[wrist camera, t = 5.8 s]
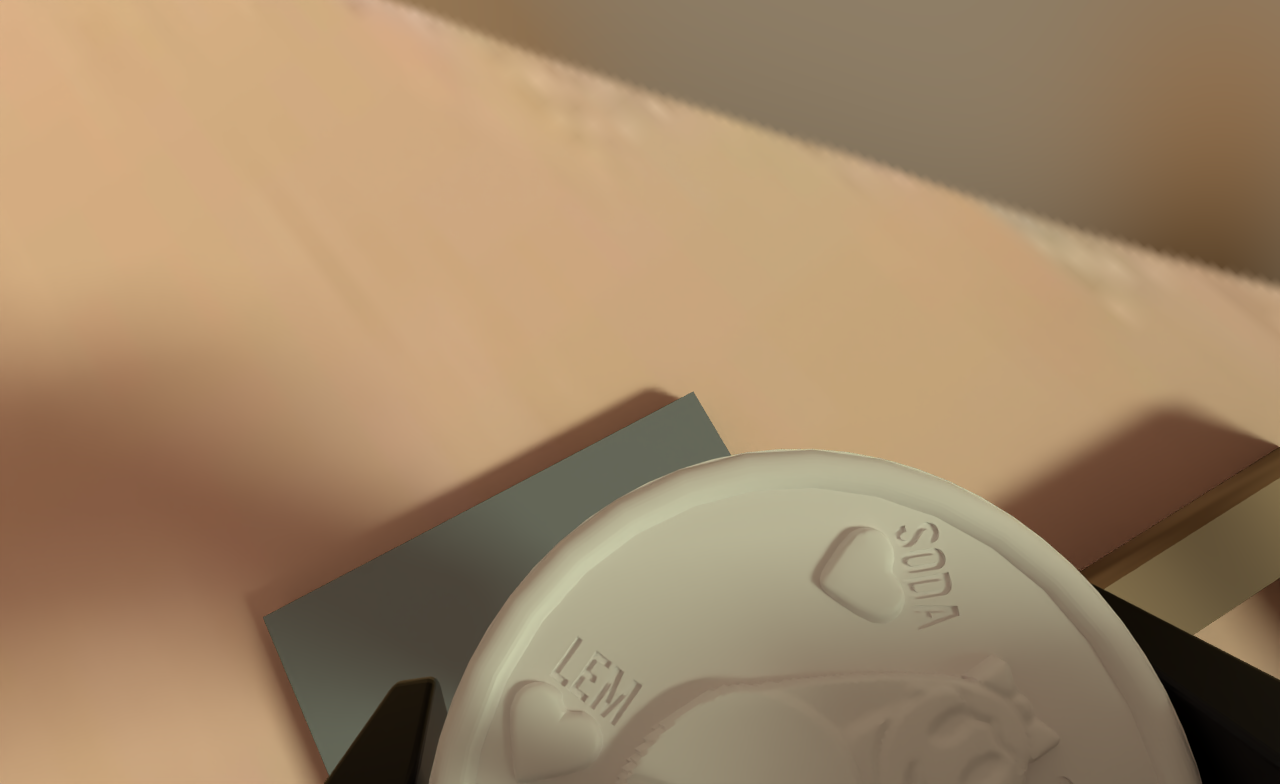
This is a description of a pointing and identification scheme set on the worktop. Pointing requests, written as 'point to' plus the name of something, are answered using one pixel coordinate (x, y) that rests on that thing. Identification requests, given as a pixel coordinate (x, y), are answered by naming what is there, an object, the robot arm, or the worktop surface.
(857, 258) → the worktop surface
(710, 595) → the smoothie
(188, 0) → the worktop surface
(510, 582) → the coaster
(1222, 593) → the holder
